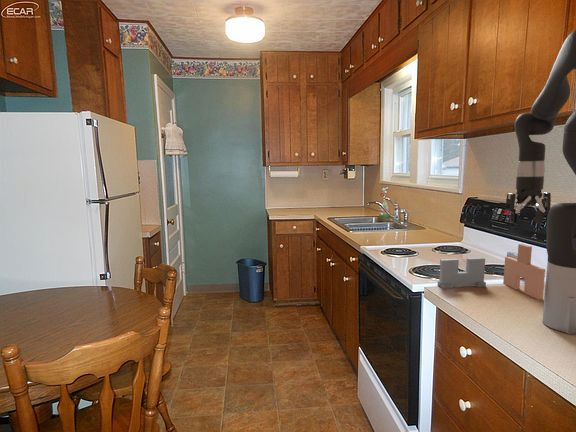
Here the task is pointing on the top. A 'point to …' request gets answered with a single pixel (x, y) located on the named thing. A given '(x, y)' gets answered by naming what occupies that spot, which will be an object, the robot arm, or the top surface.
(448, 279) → the grey notched panel
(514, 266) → the terracotta plate
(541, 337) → the top surface
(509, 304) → the top surface
